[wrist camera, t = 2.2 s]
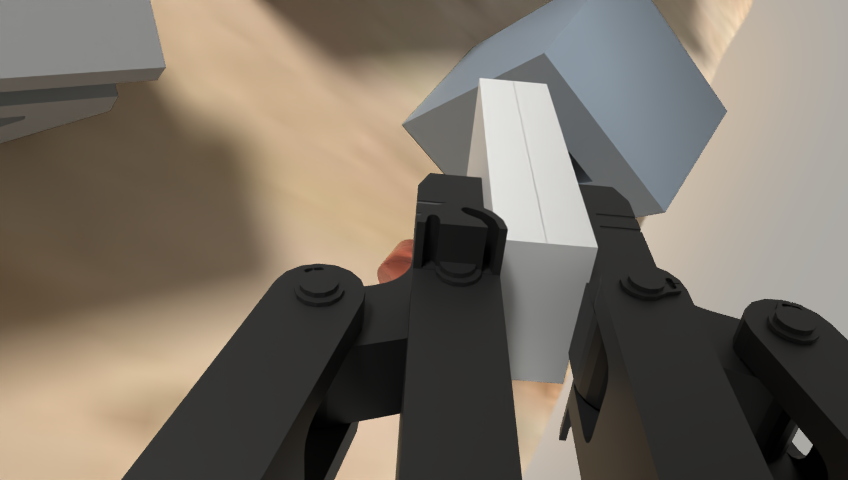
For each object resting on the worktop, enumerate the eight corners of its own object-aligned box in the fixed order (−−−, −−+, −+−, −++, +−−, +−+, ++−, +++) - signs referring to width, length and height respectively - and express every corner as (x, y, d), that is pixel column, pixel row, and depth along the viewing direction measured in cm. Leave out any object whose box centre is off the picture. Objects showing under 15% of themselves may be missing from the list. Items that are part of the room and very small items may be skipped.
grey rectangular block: (503, 241, 46) (664, 212, 35) (401, 124, 44) (544, 52, 32) (562, 160, 50) (727, 111, 39) (473, 47, 47) (623, -42, 36)
